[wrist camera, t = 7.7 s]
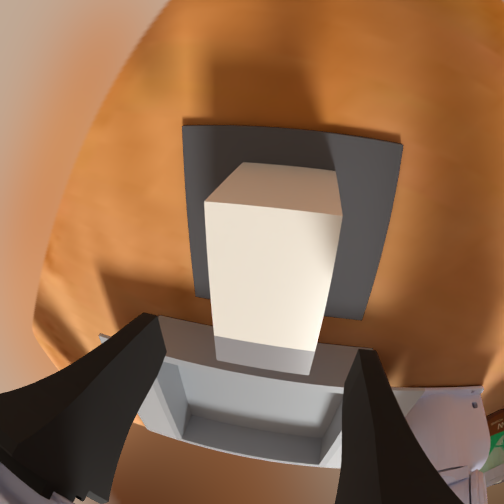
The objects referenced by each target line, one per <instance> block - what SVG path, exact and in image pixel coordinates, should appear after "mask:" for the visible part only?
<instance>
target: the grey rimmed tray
mask: <svg viewBox="0 0 504 504" xmlns="http://www.w3.org/2000/svg"><path fill="white" fill-rule="evenodd" d="M158 319H159V324H160V328H161V332H162V335H163V339H164V343H165V347H166V351H167V353H166V355H165V358H164V361H163V364H162V366H161V369H160V371H159V374H158V376H157V378H156V379H155V381H154V383H153V385H152V387H151V389H150V391H149V392H148V394H147V396H146V398H145V400H144V402H143V403H142V405H141V407H140V409H139V411H138V415H139V416H140V418H141V420H142V421H143V423H144V425H145V426H146V428H147V429H148V430H150V431H153V432H156V433H159V434H161V435H164V436H168V437H171V438H174V439H177V440H180V441H184V442H187V443H190V444H194V445H197V446H201V447H205V448H209V449H213V450H217V451H221V452H226V453H230V454H235V455H239V456H244V457H249V458H255V459H261V460H266V461H273V462H279V463H287V464H295V465H304V466H314V467H327V468H341V455H342V402H343V392H344V383H345V380H346V378H347V376H348V373H349V371H350V368H351V366H352V364H353V361H354V359H355V356H356V354H357V351H358V349H367V350H373V348H363V347H352V346H342V345H333V344H324V343H317V346H316V350H315V354H314V358H313V361H312V365H311V369H310V373H309V375H302V374H294V373H287V372H280V371H274V370H268V369H261V368H256V367H250V366H244V365H239V364H234V363H229V362H224V361H219V360H217V359H216V349H215V340H214V330H213V326H209V325H204V324H199V323H194V322H189V321H184V320H180V319H175V318H170V317H166V316H162V315H159V317H158ZM99 338H100V340H101V343H104V342H105V341H106V340H108V339H109V338H110V336H107V335H104V334H101V333H100V334H99ZM391 388H392V391H393V393H394V395H395V397H396V399H397V402H398V404H399V406H400V408H401V410H402V412H403V414H404V417H405V416H406V415H407V414H408V413H409V411H410V410H411V409H412V408H413V406H414V405H415V404H416V402H417V401H418V400H419V398H420V397H421V396H422V395H423V393H424V392H425V388H407V387H391Z"/></svg>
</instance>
